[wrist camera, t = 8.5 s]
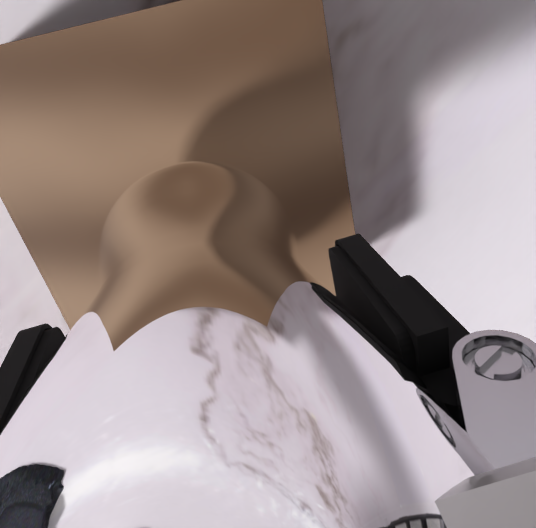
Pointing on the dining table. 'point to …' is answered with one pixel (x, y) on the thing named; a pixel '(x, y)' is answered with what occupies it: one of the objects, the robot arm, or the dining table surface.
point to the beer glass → (223, 385)
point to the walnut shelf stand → (168, 124)
